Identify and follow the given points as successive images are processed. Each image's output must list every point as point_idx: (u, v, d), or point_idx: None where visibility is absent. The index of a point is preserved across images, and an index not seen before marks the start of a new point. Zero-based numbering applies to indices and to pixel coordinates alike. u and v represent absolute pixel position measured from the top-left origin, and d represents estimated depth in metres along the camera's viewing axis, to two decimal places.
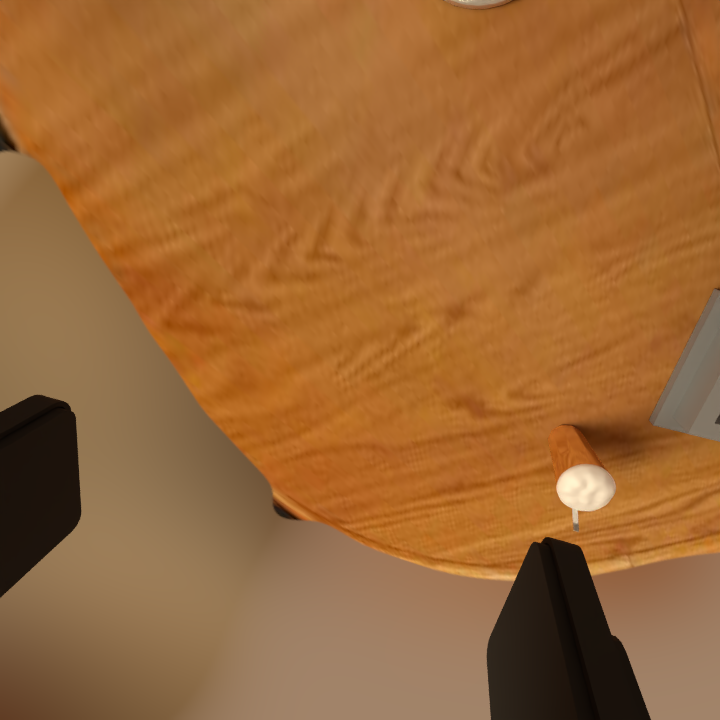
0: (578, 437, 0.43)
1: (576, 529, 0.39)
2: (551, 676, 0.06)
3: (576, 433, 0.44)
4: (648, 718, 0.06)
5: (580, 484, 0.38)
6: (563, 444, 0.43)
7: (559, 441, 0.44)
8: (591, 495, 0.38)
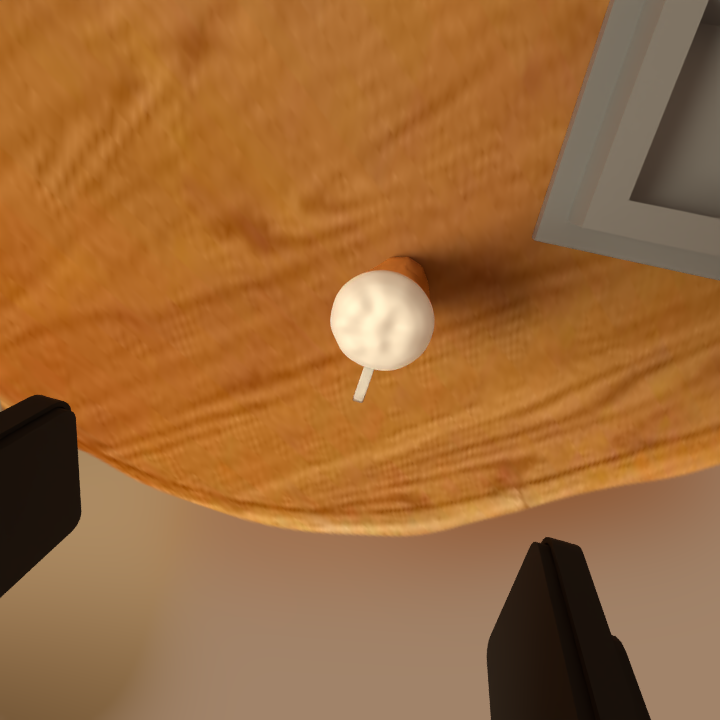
0: (403, 261, 0.25)
1: (358, 398, 0.20)
2: (551, 676, 0.06)
3: (405, 259, 0.25)
4: (648, 718, 0.06)
5: (359, 304, 0.19)
6: None
7: None
8: (383, 328, 0.20)
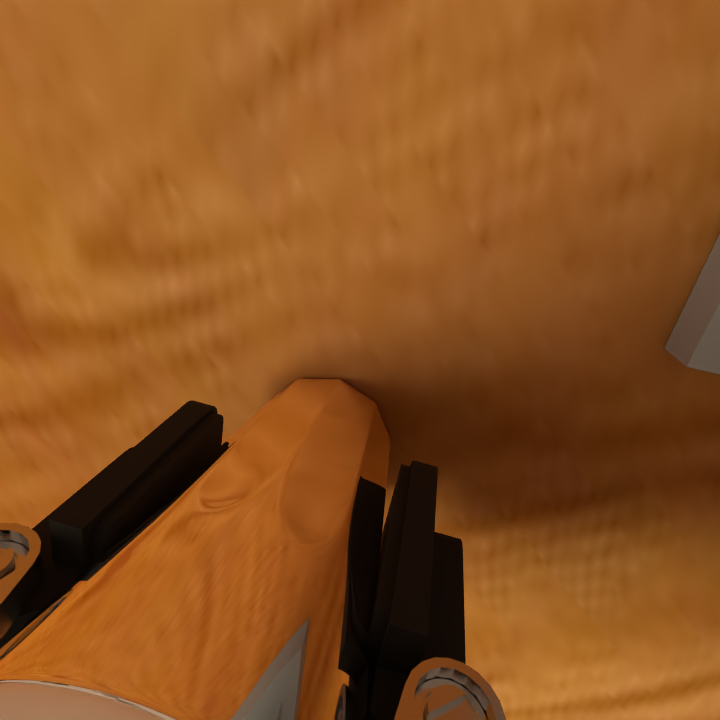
0: (307, 426, 0.09)
1: None
2: (382, 556, 0.08)
3: (320, 408, 0.09)
4: (461, 590, 0.08)
5: None
6: (210, 462, 0.08)
7: (224, 446, 0.09)
8: None
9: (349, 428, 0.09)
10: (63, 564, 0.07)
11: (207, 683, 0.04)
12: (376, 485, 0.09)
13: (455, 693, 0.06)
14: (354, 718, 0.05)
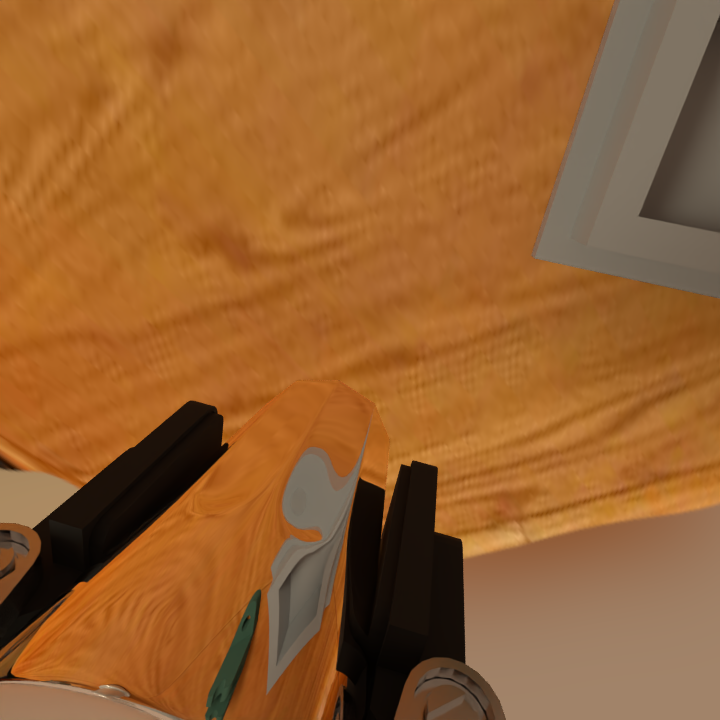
0: (306, 427, 0.09)
1: None
2: (382, 556, 0.08)
3: (320, 410, 0.09)
4: (461, 590, 0.08)
5: None
6: (209, 464, 0.08)
7: (224, 447, 0.09)
8: None
9: (348, 429, 0.09)
10: (63, 564, 0.07)
11: (206, 684, 0.04)
12: (375, 486, 0.09)
13: (455, 693, 0.06)
14: (353, 719, 0.05)
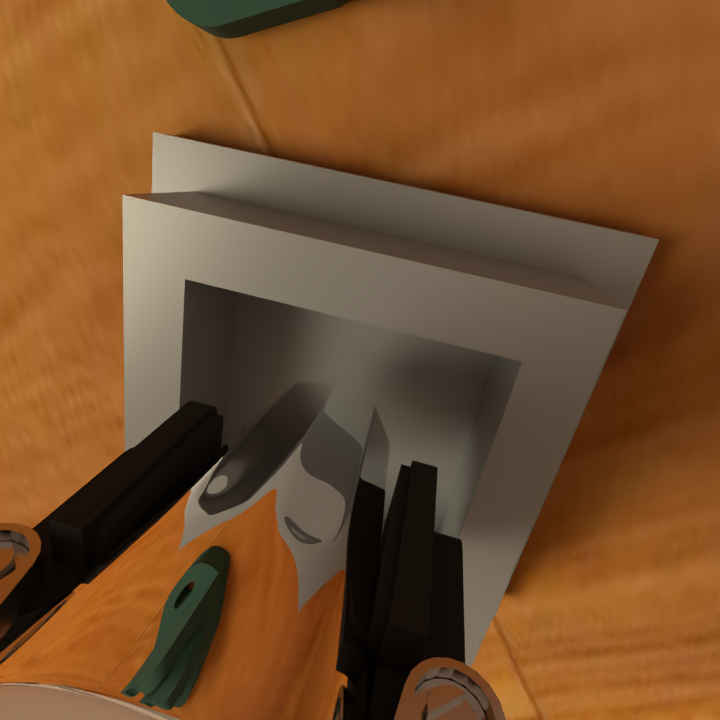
0: (306, 429, 0.09)
1: None
2: (382, 556, 0.08)
3: (320, 411, 0.09)
4: (461, 590, 0.08)
5: None
6: (209, 465, 0.08)
7: (224, 448, 0.09)
8: None
9: (348, 430, 0.09)
10: (63, 564, 0.07)
11: (206, 685, 0.04)
12: (375, 487, 0.09)
13: (455, 693, 0.06)
14: None
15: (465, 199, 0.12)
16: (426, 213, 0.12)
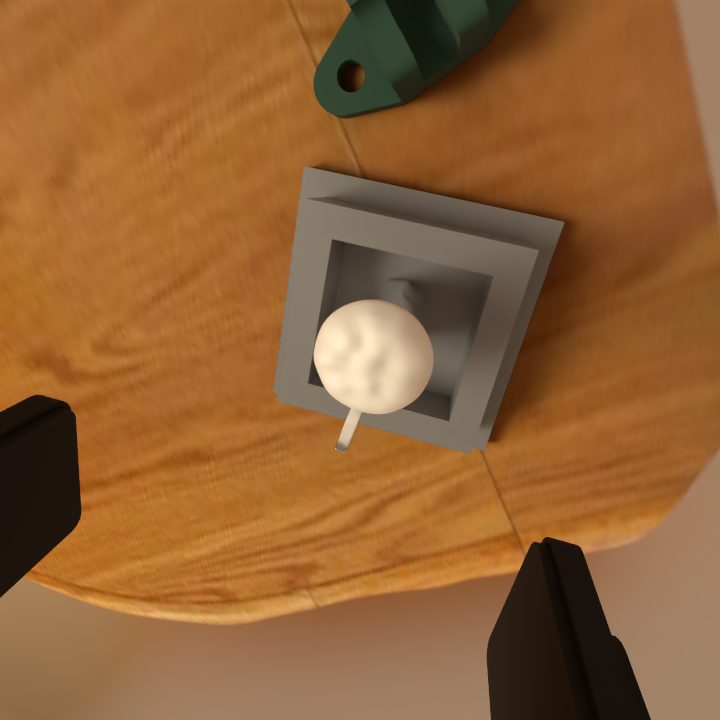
0: (402, 286, 0.22)
1: (341, 447, 0.17)
2: (551, 676, 0.06)
3: (404, 284, 0.23)
4: (648, 718, 0.06)
5: (347, 338, 0.17)
6: None
7: None
8: (374, 367, 0.17)
9: (415, 292, 0.23)
10: None
11: (402, 305, 0.17)
12: (426, 313, 0.22)
13: None
14: (430, 336, 0.18)
15: (467, 201, 0.23)
16: (447, 209, 0.23)
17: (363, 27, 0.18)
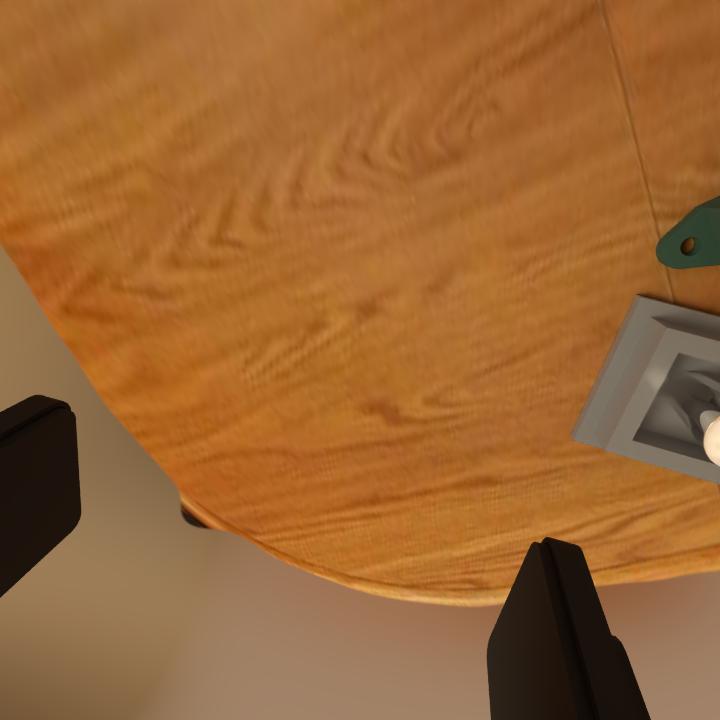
0: (717, 383, 0.34)
1: None
2: (551, 676, 0.06)
3: (711, 379, 0.35)
4: (648, 718, 0.06)
5: None
6: (700, 389, 0.33)
7: (691, 387, 0.34)
8: None
9: None
10: None
11: None
12: None
13: None
14: None
15: None
16: None
17: None
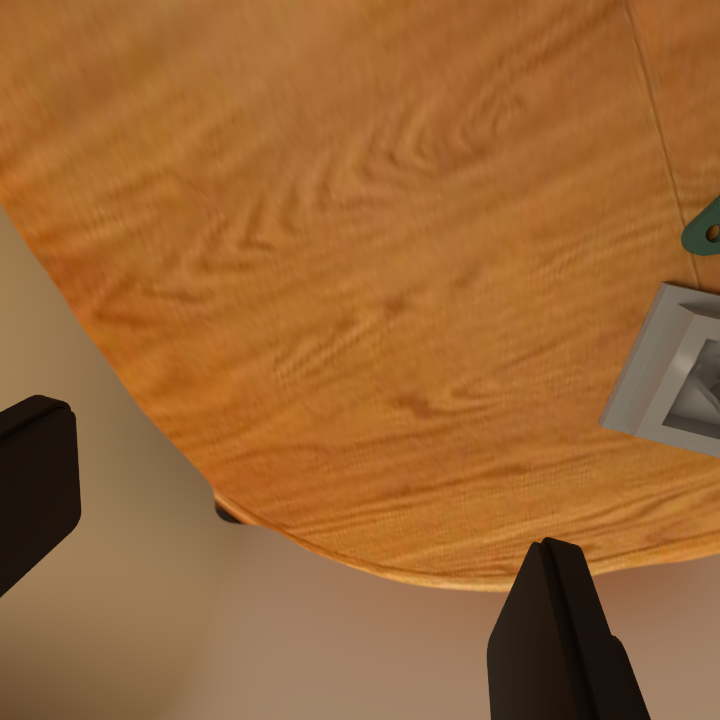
0: None
1: None
2: (551, 676, 0.06)
3: None
4: (648, 718, 0.06)
5: None
6: None
7: (719, 371, 0.35)
8: None
9: None
10: None
11: None
12: None
13: None
14: None
15: None
16: None
17: None
